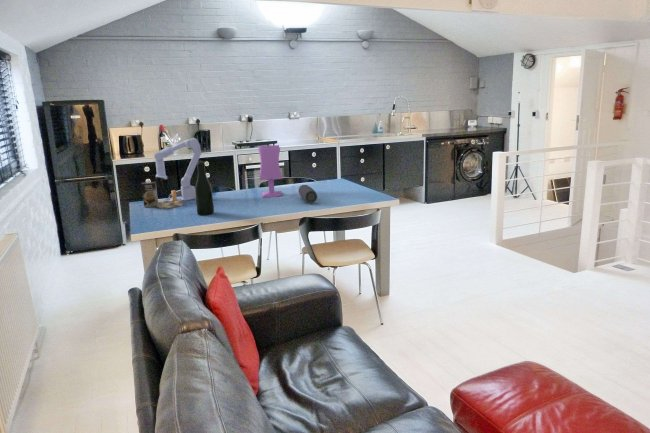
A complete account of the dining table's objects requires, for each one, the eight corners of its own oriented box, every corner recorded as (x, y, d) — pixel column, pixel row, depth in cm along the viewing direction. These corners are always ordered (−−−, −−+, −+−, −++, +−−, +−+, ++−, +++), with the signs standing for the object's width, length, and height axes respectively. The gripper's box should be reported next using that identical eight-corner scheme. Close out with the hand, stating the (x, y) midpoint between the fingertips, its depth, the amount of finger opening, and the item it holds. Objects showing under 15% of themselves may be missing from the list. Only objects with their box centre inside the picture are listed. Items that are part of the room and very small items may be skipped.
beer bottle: (197, 216, 288) (191, 162, 279) (197, 212, 297) (191, 160, 289) (214, 214, 290) (209, 161, 282) (214, 211, 300) (209, 159, 291)
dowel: (176, 204, 322) (174, 190, 319) (178, 205, 320) (176, 190, 317) (172, 205, 320) (170, 190, 317) (174, 205, 318) (172, 191, 315)
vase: (283, 196, 335) (280, 147, 326) (261, 198, 333) (257, 148, 324) (281, 192, 350) (279, 145, 341) (260, 193, 348) (257, 146, 339)
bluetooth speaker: (297, 198, 328) (297, 184, 325) (310, 197, 330) (310, 183, 327) (304, 205, 306) (303, 190, 304) (318, 204, 308) (317, 189, 306)
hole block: (176, 203, 326) (176, 198, 325) (183, 205, 319) (182, 200, 318) (157, 206, 317) (156, 202, 317) (163, 209, 310) (162, 204, 309)
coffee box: (144, 207, 317) (140, 183, 312) (144, 205, 323) (141, 182, 318) (158, 206, 319) (155, 182, 315) (158, 204, 325) (155, 181, 321)
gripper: (150, 168, 331) (153, 187, 334) (159, 170, 320) (161, 190, 324) (160, 167, 335) (162, 186, 339) (169, 169, 325) (171, 188, 328)
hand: (163, 188), depth 331 cm, fingers open, 7 cm apart
